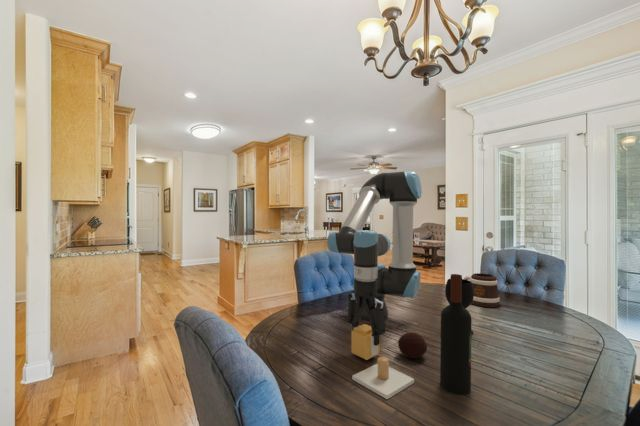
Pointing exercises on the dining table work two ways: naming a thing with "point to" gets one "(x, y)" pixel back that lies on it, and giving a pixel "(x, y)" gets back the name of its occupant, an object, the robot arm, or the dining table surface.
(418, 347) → the potato
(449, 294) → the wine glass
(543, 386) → the dining table surface
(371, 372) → the post plate
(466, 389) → the wine bottle
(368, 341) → the orange block
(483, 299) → the mug
